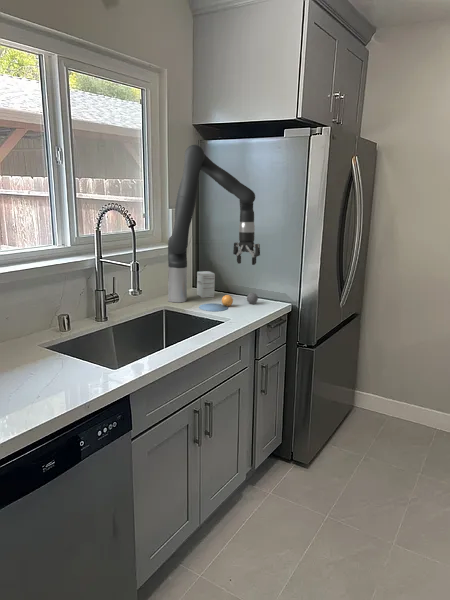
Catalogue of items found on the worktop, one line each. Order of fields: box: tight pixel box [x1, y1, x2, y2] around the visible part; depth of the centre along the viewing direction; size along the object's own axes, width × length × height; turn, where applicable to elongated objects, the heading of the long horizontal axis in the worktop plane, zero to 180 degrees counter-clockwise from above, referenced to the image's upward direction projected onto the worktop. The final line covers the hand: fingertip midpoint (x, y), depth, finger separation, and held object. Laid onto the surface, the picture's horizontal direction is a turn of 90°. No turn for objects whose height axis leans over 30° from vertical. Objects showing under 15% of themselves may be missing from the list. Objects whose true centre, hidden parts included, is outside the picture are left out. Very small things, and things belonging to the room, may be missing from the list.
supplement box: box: [196, 270, 216, 299], centre depth 242 cm, size 7×7×13 cm
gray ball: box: [246, 292, 259, 305], centre depth 230 cm, size 6×6×6 cm
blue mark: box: [198, 303, 229, 312], centre depth 221 cm, size 14×14×1 cm
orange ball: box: [221, 294, 234, 307], centre depth 224 cm, size 6×6×6 cm
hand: (246, 264), depth 229 cm, fingers open, 8 cm apart
